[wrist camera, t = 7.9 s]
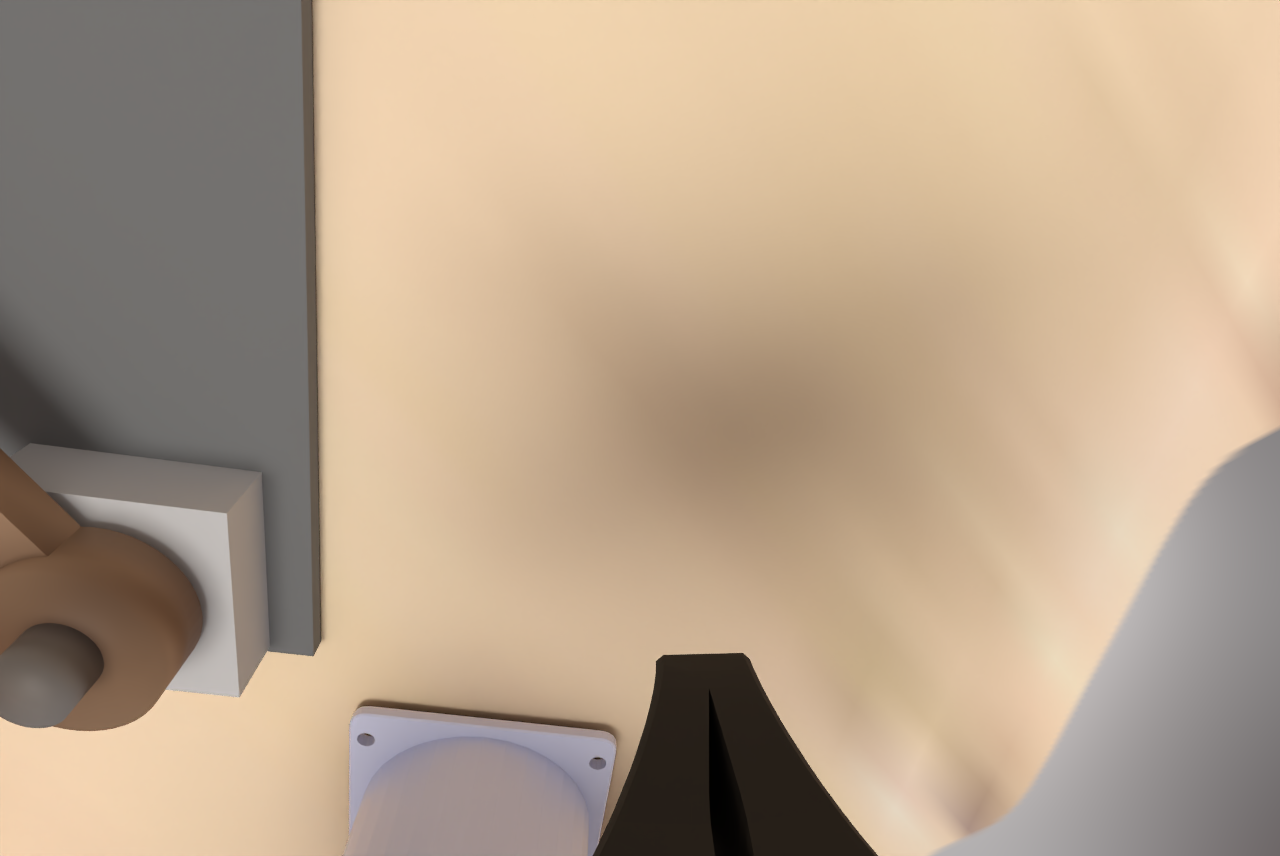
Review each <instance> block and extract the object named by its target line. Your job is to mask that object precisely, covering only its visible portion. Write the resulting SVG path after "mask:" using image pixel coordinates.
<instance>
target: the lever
mask: <svg viewBox="0 0 1280 856" xmlns="http://www.w3.org/2000/svg"><path fill="white" fill-rule="evenodd" d="M202 625H203V615H202V609H201V604H200V601H199V599H198V596H197V594H196V592H195V590H194V588H193V586H192V584H191V583H190V581H189V580H188V579H187V577H186V576H185V574H184V573H183V572H182V571H181V570H180V569H179V568H178V567H177V566H176V565H175V564H174V563H173V562H172V561H171V560H170V559H169V558H168V557H166V556H165V555H163V554H162V553H161V552H159V551H158V550H157V549H155V548H153V547H151V546H150V545H148V544H146V543H145V542H142V541H140V540H138V539H136V538H134V537H131V536H129V535H126V534H123V533H120V532H116V531H112V530H109V529H103V528H96V527H81V526H80V525H79V524H78V523H77V522H76V521H75V520H74V519H73V518H72V517H71V516H70V515H69V514H68V513H67V512H66V511H65V510H63V509H62V508H61V507H60V506H59V505H58V504H57V503H56V502H55V501H54V500H53V499H52V498H51V497H50V496H49V495H48V494H47V493H46V492H45V491H44V490H43V489H42V488H41V487H40V486H39V485H38V484H37V483H36V482H35V481H34V480H33V479H32V478H31V477H29V476H28V475H27V474H26V473H25V472H24V471H23V470H22V469H21V468H20V467H19V466H18V465H17V464H16V463H15V462H14V461H13V460H12V459H11V458H10V457H9V456H8V455H7V454H6V453H5V452H4V451H3V450H2V449H1V448H0V717H2V718H4V719H5V720H7V721H9V722H12V723H14V724H17V725H20V726H24V727H30V728H46V727H51V726H54V727H58V728H63V729H70V730H77V731H98V730H107V729H113V728H117V727H120V726H124V725H126V724H129V723H131V722H133V721H135V720H137V719H138V718H140V717H142V716H143V715H144V714H146V713H147V712H148V711H149V710H150V709H151V708H152V707H153V706H154V704H155V703H156V702H157V701H158V699H159V698H160V696H161V695H162V694H163V692H164V691H165V689H166V688H167V687H168V685H169V684H170V682H171V681H172V680H173V678H174V677H175V675H176V674H177V672H178V671H179V670H180V668H181V667H182V665H183V664H184V663H185V661H186V660H187V658H188V657H189V656H190V654H191V653H192V651H193V650H194V649H195V647H196V645H197V643H198V641H199V639H200V636H201V632H202Z"/></svg>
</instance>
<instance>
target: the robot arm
mask: <svg viewBox="0 0 1280 856" xmlns="http://www.w3.org/2000/svg"><path fill="white" fill-rule="evenodd" d="M363 733H367V734H371V735H372V736H367V735H365V734H363ZM615 755H616V739H615V738H614V736H613V735H612V734H610V733H609V732H605V731H600V730H591V729H582V728H572V727H563V726H553V725H544V724H534V723H525V722H515V721H506V720H497V719H487V718H478V717H468V716H459V715H449V714H440V713H430V712H421V711H412V710H402V709H393V708H383V707H374V706H363V707H360V708H358V709H357V710H356V711H355V712H354V713H353V716H352V718H351V721H350V726H349V838H348V841H347V844H346V846H345V849H344V852H343V855H342V856H878V855H877V854H876V853H875V852H874V850H873V849H872V848H871V847H870V846H869V844H868V843H867V842H866V841H865V840H864V839H863V837H862V836H861V835H860V834H859V832H858V831H857V830H856V829H855V827H854V826H853V825H852V824H851V822H850V821H849V820H848V818H847V817H846V816H845V814H844V813H843V812H842V811H841V809H840V808H839V807H838V805H837V804H836V802H835V801H834V800H833V798H832V797H831V796H830V794H829V793H828V792H827V790H826V789H825V787H824V786H823V785H822V783H821V782H820V780H819V779H818V778H817V776H816V775H815V773H814V772H813V770H812V769H811V767H810V766H809V764H808V763H807V761H806V760H805V758H804V757H803V755H802V754H801V752H800V750H799V749H798V747H797V746H796V744H795V743H794V741H793V740H792V738H791V736H790V735H789V733H788V732H787V730H786V728H785V727H784V725H783V723H782V722H781V720H780V718H779V716H778V715H777V713H776V711H775V709H774V708H773V706H772V704H771V702H770V701H769V699H768V697H767V695H766V693H765V691H764V689H763V687H762V685H761V683H760V681H759V679H758V677H757V675H756V673H755V671H754V668H753V666H752V664H751V661H750V659H749V658H748V657H747V656H746V655H744V654H743V653H727V654H687V655H663V656H662V657H661V658H659V659H658V660H657V661H656V677H655V684H654V690H653V695H652V700H651V704H650V708H649V712H648V716H647V720H646V724H645V727H644V730H643V733H642V736H641V740H640V743H639V746H638V749H637V752H636V755H635V758H634V761H633V764H632V767H631V769H630V772H629V774H628V777H627V779H626V782H625V784H624V787H623V789H622V792H621V794H620V797H619V799H618V802H617V804H616V807H615V809H614V811H613V814H612V816H611V818H610V820H609V823H608V825H607V827H606V829H605V831H604V834H603V836H602V838H601V840H600V842H599V839H600V834H601V829H602V823H603V818H604V813H605V808H606V802H607V797H608V792H609V787H610V782H611V776H612V771H613V766H614V761H615ZM595 757H600V758H603V759H599V760H597V759H593V758H595Z"/></svg>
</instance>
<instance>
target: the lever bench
mask: <svg viewBox="0 0 1280 856" xmlns="http://www.w3.org/2000/svg"><path fill="white" fill-rule="evenodd" d="M0 448H1V449H2V450H3V451H4V452H5V453H6V454H7V455H8V456H9V457H10V458H11V459H12V460H13V461H14V462H15V463H16V464H17V465H18V466H19V467H20V468H21V469H22V470H23V471H24V472H25V473H26V474H27V475H28V476H29V477H31V478H32V479H33V480H34V481H35V482H36V483H37V484H38V485H39V486H40V487H41V488H42V489H43V490H44V491H45V492H46V493H47V494H48V495H49V496H50V497H51V498H52V499H53V500H54V501H55V502H56V503H57V504H58V505H59V506H60V507H61V508H62V509H63V510H65V511H66V512H67V513H68V514H69V515H70V516H71V517H72V518H73V519H74V520H75V521H76V522H77V523H78V524H79V525H80V526H81V527H96V528H103V529H109V530H112V531H116V532H120V533H123V534H126V535H129V536H131V537H134V538H136V539H138V540H140V541H142V542H145V543H146V544H148V545H150V546H151V547H153V548H155V549H157V550H158V551H159V552H161V553H162V554H163V555H165V556H166V557H168V558H169V559H170V560H171V561H172V562H173V563H174V564H175V565H176V566H177V567H178V568H179V569H180V570H181V571H182V572H183V573H184V574H185V576H186V577H187V579H188V580H189V581H190V583H191V584H192V586H193V588H194V590H195V592H196V594H197V596H198V599H199V601H200V604H201V609H202V615H203V625H202V632H201V636H200V639H199V641H198V643H197V645H196V647H195V649H194V650H193V651H192V653H191V654H190V656H189V657H188V658H187V660H186V661H185V663H184V664H183V665H182V667H181V668H180V670H179V671H178V672H177V674H176V675H175V677H174V678H173V680H172V681H171V682H170V684H169V685H168V687H167V688H166V689H165V690H175V691H184V692H194V693H203V694H213V695H222V696H232V697H240V696H241V694H242V692H243V691H244V689H245V687H246V686H247V684H248V682H249V680H250V679H251V677H252V675H253V674H254V672H255V670H256V669H257V667H258V665H259V663H260V662H261V660H262V658H263V657H264V655H265V653H266V652H267V651H270V652H279V653H288V654H297V655H307V656H314V654H315V652H316V650H317V648H318V646H319V644H320V642H321V635H320V563H319V491H318V420H317V348H316V276H315V204H314V133H313V61H312V0H0Z"/></svg>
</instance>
